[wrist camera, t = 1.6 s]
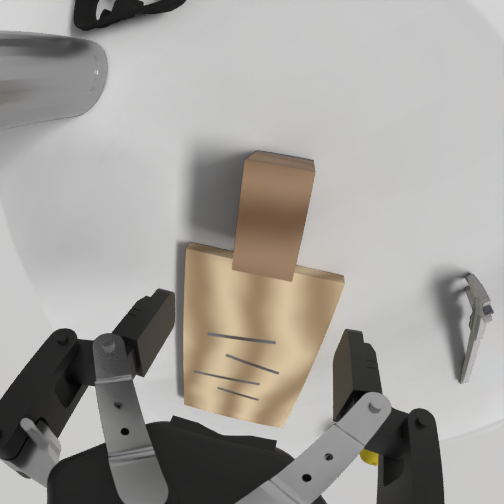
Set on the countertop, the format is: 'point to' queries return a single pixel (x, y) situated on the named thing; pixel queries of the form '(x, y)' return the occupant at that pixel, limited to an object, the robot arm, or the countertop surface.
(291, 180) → the block
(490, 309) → the caliper
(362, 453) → the lemon
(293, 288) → the plywood board
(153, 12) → the egg carton
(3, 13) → the countertop surface
